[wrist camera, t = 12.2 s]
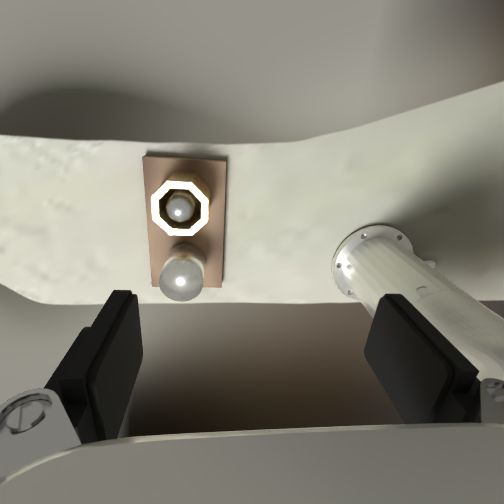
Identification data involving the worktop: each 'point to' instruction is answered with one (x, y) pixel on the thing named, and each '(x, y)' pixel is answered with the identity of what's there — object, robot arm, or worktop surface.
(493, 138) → the worktop surface
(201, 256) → the pair of light bulbs
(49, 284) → the worktop surface
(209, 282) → the pipe board
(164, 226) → the brass coupling
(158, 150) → the worktop surface
